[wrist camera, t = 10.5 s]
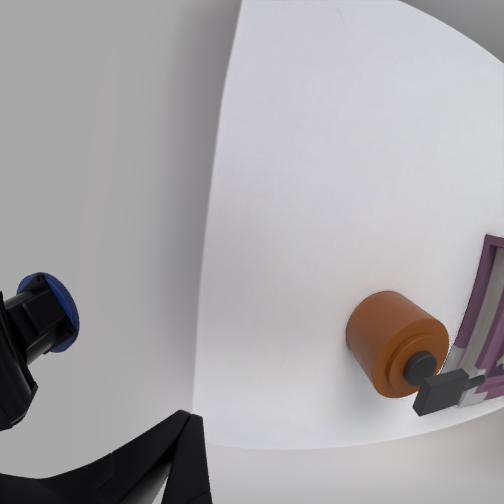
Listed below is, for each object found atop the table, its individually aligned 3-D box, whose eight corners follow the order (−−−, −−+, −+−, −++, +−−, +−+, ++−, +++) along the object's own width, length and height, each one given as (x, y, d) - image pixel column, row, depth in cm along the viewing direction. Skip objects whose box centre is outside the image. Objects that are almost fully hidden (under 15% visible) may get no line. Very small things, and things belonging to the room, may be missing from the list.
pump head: (406, 399, 14) (418, 417, 12) (415, 370, 13) (430, 387, 11) (468, 381, 14) (481, 394, 12) (478, 354, 13) (493, 366, 12)
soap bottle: (341, 362, 22) (370, 417, 15) (350, 292, 21) (392, 333, 14) (403, 354, 22) (443, 399, 15) (417, 289, 21) (469, 321, 14)
